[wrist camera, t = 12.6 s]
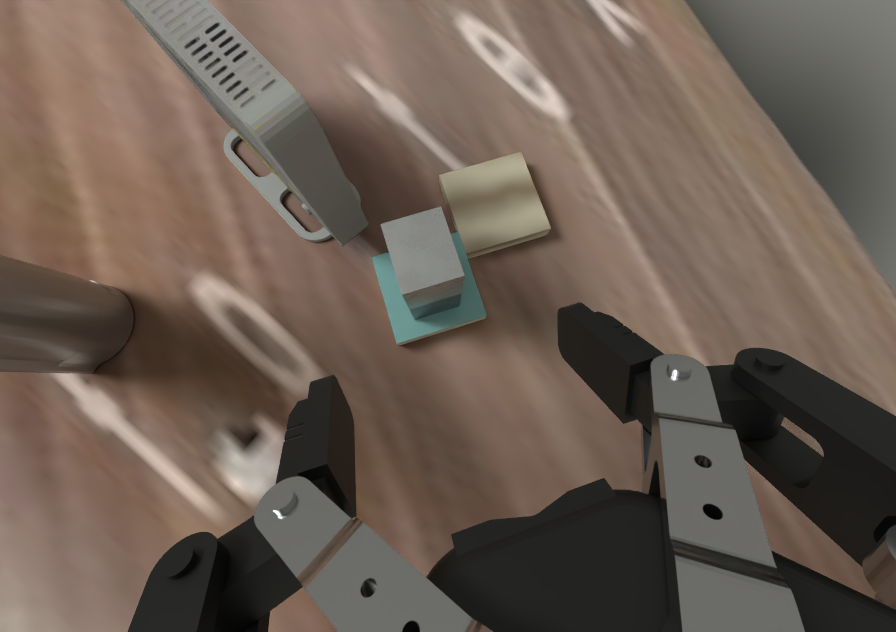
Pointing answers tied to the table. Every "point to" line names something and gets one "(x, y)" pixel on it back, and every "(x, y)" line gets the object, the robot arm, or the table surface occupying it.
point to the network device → (257, 114)
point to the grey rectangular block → (425, 262)
